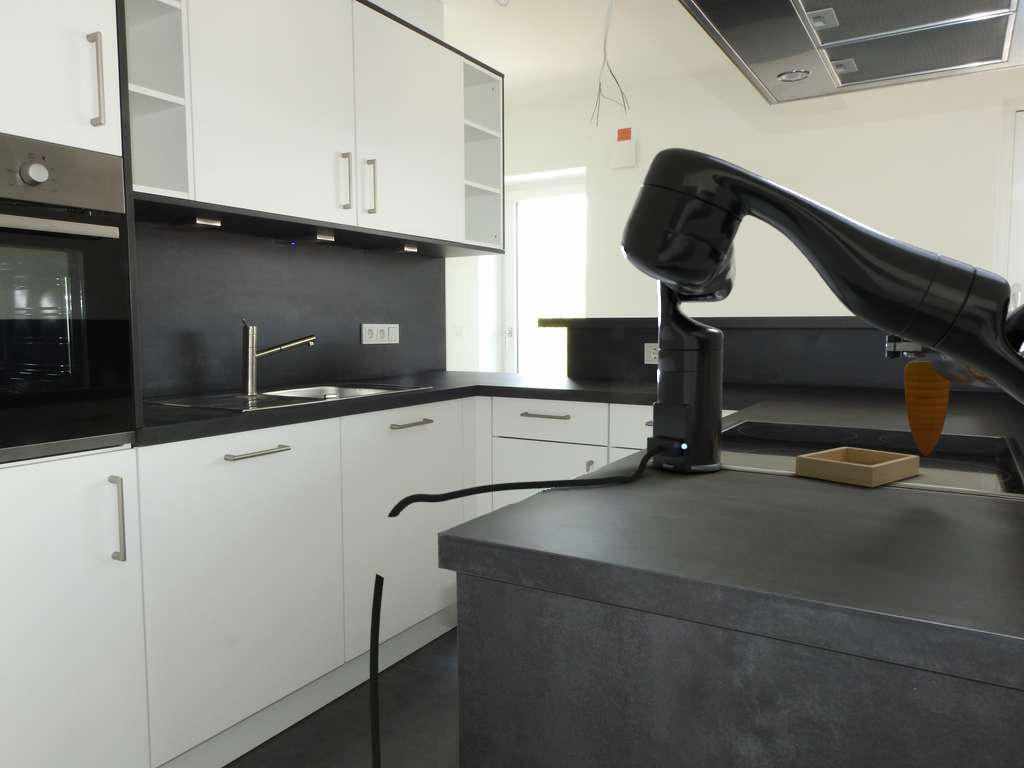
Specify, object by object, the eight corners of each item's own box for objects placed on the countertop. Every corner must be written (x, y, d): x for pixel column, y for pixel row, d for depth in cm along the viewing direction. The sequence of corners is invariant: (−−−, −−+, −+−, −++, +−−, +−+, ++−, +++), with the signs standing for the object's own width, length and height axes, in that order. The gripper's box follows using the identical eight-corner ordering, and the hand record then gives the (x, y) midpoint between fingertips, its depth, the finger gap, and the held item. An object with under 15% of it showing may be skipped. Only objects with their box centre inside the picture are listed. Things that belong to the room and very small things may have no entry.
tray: (872, 487, 92) (873, 467, 91) (795, 474, 100) (795, 456, 100) (918, 474, 100) (919, 455, 100) (844, 463, 108) (844, 446, 108)
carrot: (937, 452, 88) (939, 328, 87) (958, 458, 83) (960, 328, 82) (894, 452, 88) (896, 329, 87) (913, 459, 83) (914, 329, 82)
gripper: (903, 385, 72) (857, 375, 89) (1063, 387, 69) (984, 377, 86) (906, 310, 72) (860, 314, 88) (1067, 309, 69) (987, 314, 86)
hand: (922, 345), depth 87 cm, fingers closed on carrot, 3 cm apart
